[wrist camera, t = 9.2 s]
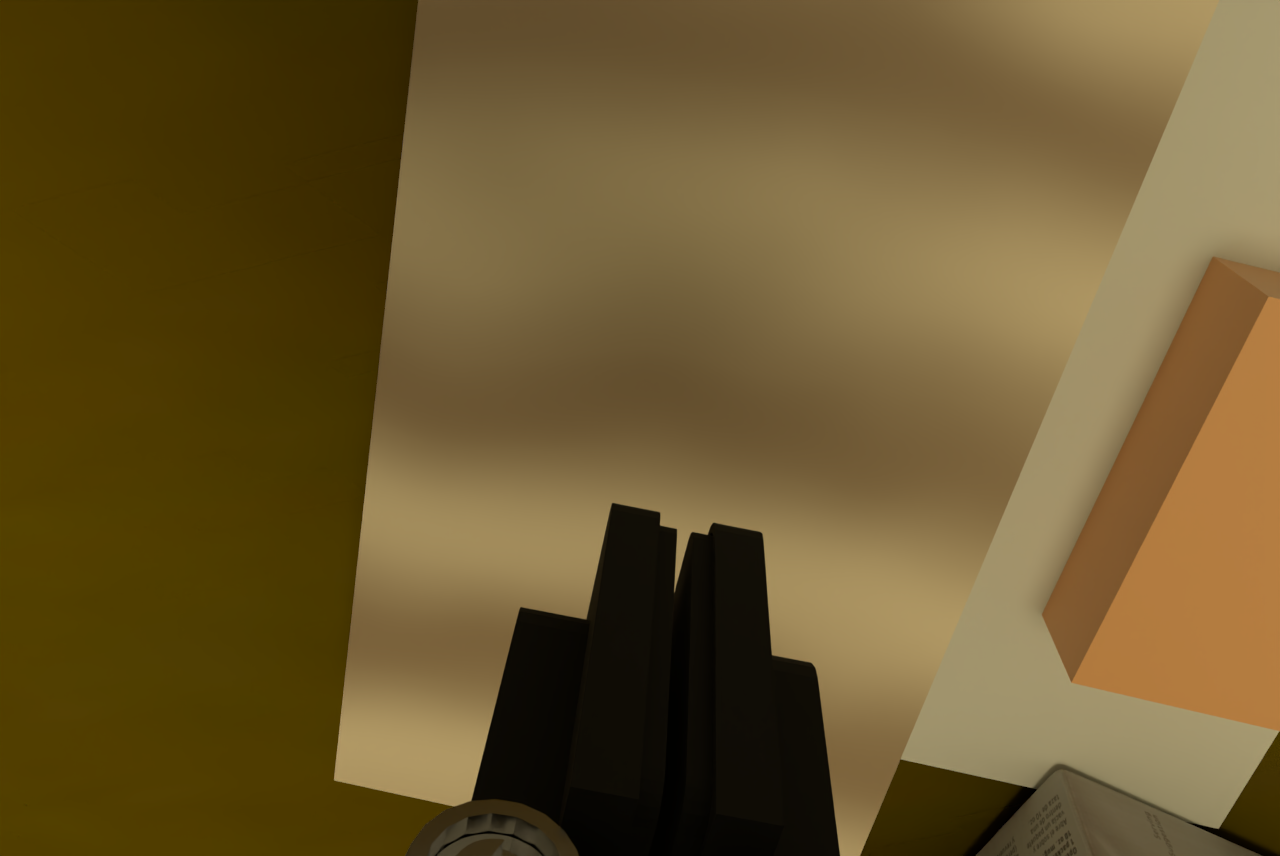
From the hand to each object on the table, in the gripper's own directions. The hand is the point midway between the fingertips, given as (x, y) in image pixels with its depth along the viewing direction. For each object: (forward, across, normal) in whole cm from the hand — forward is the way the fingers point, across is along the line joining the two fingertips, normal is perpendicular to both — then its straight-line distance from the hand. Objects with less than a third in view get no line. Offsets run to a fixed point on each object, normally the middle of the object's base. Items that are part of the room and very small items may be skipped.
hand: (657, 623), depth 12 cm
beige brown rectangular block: (+12, -1, +2) cm, 12 cm away
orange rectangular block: (+9, -13, +2) cm, 16 cm away
